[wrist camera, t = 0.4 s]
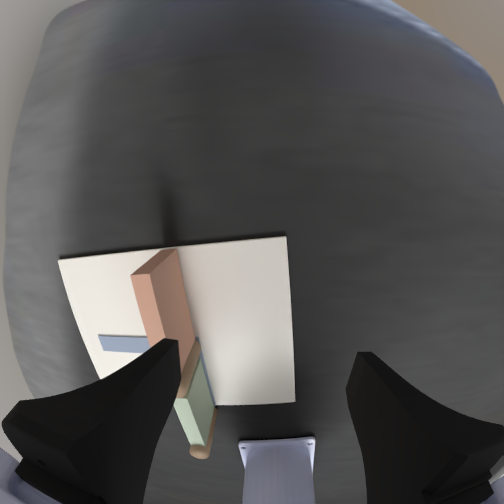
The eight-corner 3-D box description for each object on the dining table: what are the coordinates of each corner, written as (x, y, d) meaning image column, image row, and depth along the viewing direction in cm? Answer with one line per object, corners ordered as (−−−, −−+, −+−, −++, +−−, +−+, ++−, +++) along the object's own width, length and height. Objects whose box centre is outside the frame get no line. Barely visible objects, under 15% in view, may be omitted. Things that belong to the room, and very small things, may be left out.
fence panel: (203, 356, 22) (189, 398, 17) (182, 356, 22) (164, 397, 17) (180, 248, 19) (154, 273, 14) (157, 250, 19) (125, 275, 15)
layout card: (294, 399, 23) (295, 402, 23) (109, 394, 25) (108, 396, 24) (285, 235, 19) (286, 237, 19) (59, 259, 21) (56, 260, 20)
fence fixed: (219, 415, 24) (210, 459, 19) (202, 415, 24) (192, 457, 19) (203, 356, 22) (188, 402, 17) (184, 356, 22) (166, 401, 17)
